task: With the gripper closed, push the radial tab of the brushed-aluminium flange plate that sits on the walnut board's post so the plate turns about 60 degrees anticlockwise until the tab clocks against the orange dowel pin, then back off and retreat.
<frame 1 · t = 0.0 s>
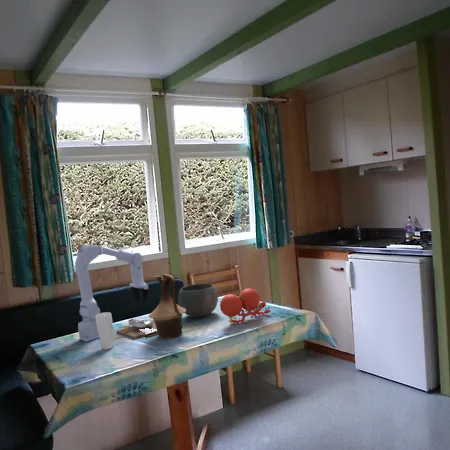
hand: (140, 301, 237), 10 cm above the table, fingers open, 7 cm apart
flange: (139, 323, 223), point 3 cm above the table, hinge at 0.0°
board: (144, 330, 221), on the table
pitcher: (170, 335, 208), on the table
drinking glass: (108, 348, 200), on the table
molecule: (246, 320, 217), on the table
bowl: (200, 316, 235), on the table
dowel: (127, 334, 216), resting on board
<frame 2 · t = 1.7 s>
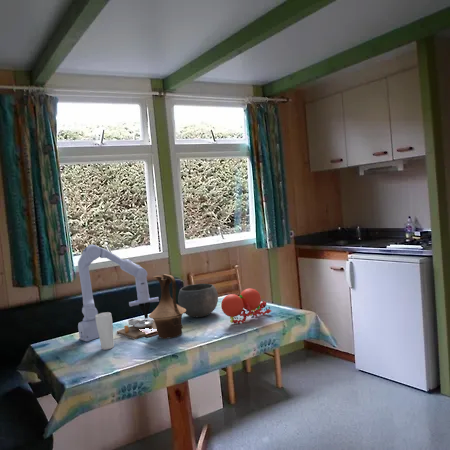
hand: (146, 318, 229), 4 cm above the table, fingers closed
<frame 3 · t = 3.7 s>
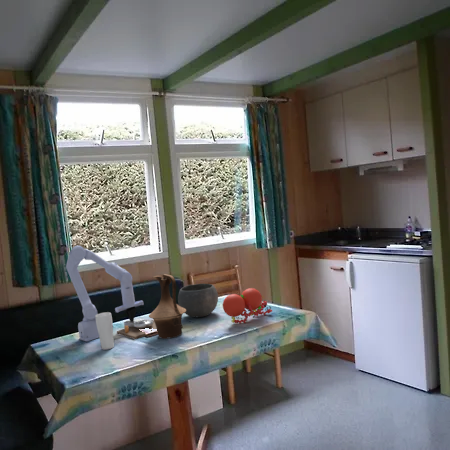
hand: (131, 322, 226), 3 cm above the table, fingers closed, pressing on flange
flange: (138, 323, 222), point 3 cm above the table, hinge at 18.6°, touching gripper
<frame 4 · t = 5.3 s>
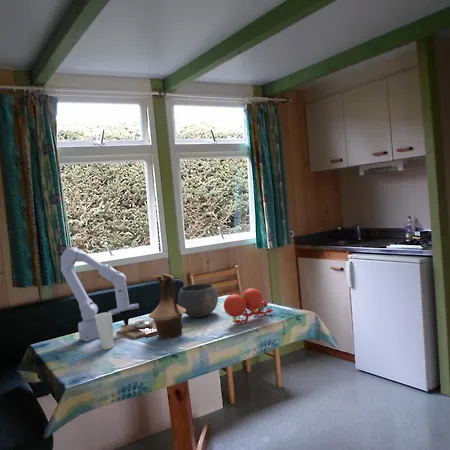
hand: (126, 326, 221), 3 cm above the table, fingers closed, pressing on flange
flange: (137, 325, 220), point 3 cm above the table, hinge at 60.1°, touching dowel, gripper
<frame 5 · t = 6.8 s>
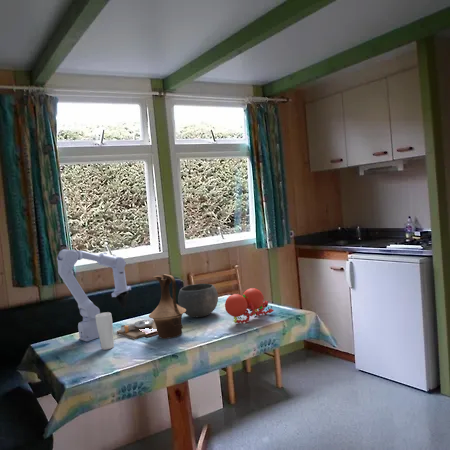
hand: (123, 307, 230), 10 cm above the table, fingers closed
flange: (137, 325, 220), point 3 cm above the table, hinge at 59.9°
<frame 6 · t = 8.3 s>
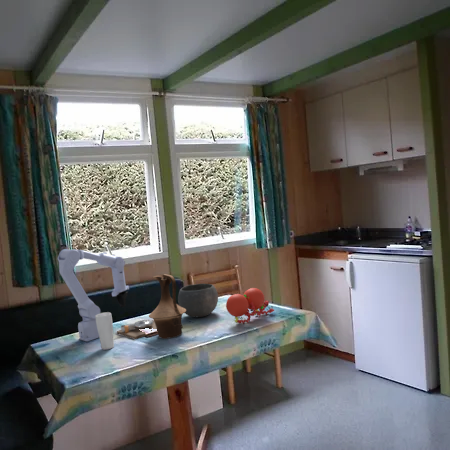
hand: (122, 306, 231), 10 cm above the table, fingers closed
at the end: flange at +60° (first picture: +0°) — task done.
